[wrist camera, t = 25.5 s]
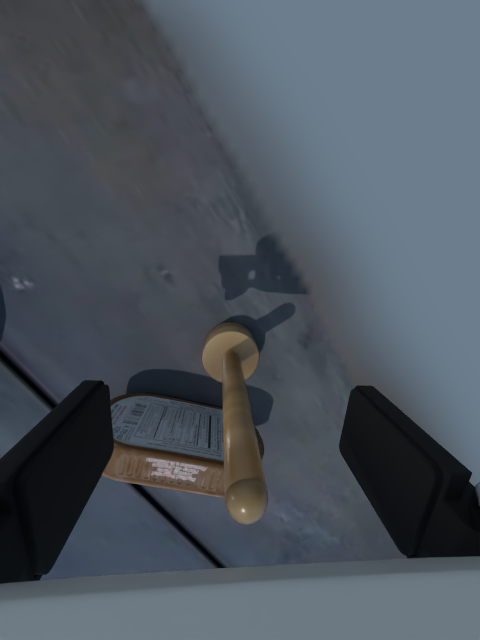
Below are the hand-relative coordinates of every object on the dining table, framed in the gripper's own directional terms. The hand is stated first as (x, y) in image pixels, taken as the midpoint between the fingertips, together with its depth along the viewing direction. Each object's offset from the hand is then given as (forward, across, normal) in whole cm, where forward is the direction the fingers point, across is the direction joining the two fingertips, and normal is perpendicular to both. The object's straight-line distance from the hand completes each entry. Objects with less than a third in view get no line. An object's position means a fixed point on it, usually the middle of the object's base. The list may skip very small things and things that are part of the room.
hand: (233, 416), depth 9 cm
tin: (+14, +4, +10) cm, 18 cm away
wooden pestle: (+14, -1, +3) cm, 15 cm away
